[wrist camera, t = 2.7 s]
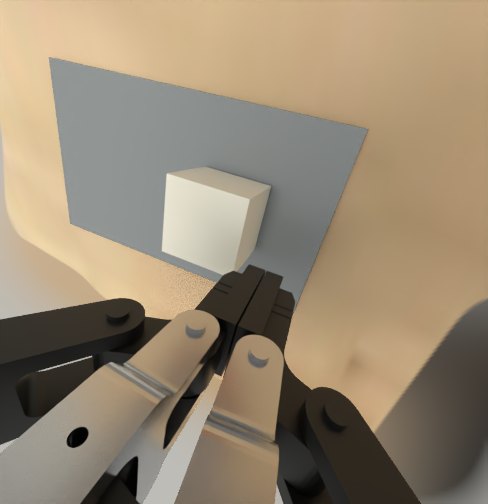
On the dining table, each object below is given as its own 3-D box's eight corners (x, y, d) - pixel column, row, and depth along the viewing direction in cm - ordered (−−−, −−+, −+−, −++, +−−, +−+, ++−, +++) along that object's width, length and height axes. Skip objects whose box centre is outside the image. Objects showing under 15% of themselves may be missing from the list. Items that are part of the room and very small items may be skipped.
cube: (272, 185, 17) (249, 199, 12) (255, 248, 19) (231, 278, 15) (207, 166, 18) (166, 173, 14) (199, 228, 20) (161, 251, 16)
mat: (367, 129, 14) (368, 129, 14) (293, 311, 21) (293, 313, 20) (52, 58, 19) (48, 57, 19) (73, 222, 25) (70, 223, 25)
